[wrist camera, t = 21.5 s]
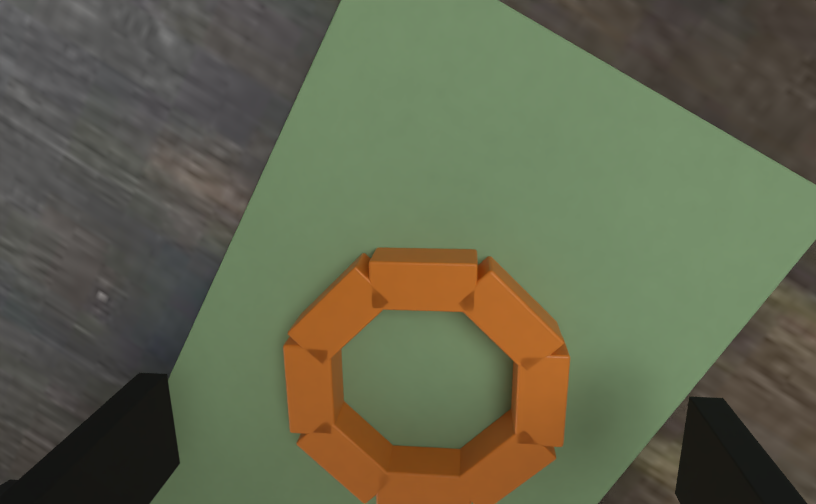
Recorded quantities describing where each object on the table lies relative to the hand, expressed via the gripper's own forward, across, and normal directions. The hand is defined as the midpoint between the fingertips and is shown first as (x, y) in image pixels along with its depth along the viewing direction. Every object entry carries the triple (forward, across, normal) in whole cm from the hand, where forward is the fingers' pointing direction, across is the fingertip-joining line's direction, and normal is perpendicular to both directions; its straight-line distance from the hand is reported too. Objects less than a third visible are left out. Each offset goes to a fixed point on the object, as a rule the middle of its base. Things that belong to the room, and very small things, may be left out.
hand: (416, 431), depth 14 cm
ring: (+2, 0, 0) cm, 3 cm away
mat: (+4, 0, 0) cm, 4 cm away
